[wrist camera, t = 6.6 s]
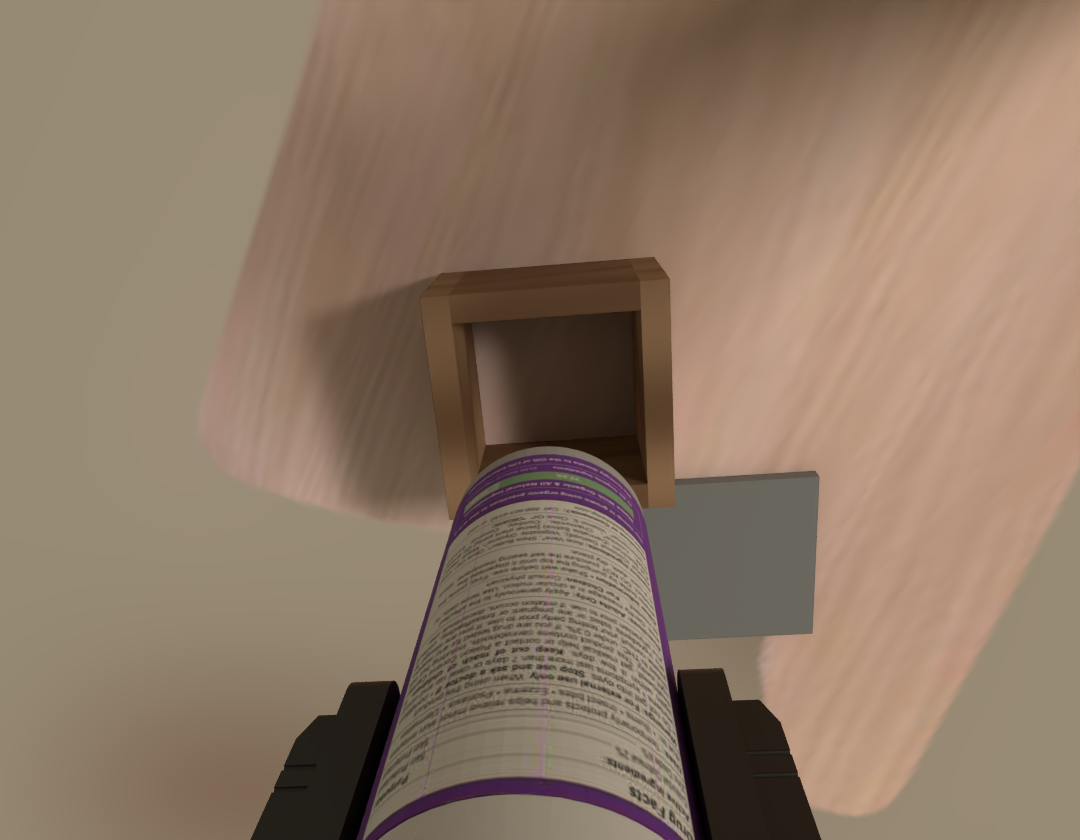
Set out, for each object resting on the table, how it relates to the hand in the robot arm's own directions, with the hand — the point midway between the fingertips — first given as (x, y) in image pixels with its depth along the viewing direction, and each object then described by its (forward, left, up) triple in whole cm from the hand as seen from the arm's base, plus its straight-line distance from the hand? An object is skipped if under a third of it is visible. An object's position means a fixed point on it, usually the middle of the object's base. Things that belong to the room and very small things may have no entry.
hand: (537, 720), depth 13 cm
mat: (+10, +7, -21) cm, 24 cm away
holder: (0, 0, -21) cm, 21 cm away
